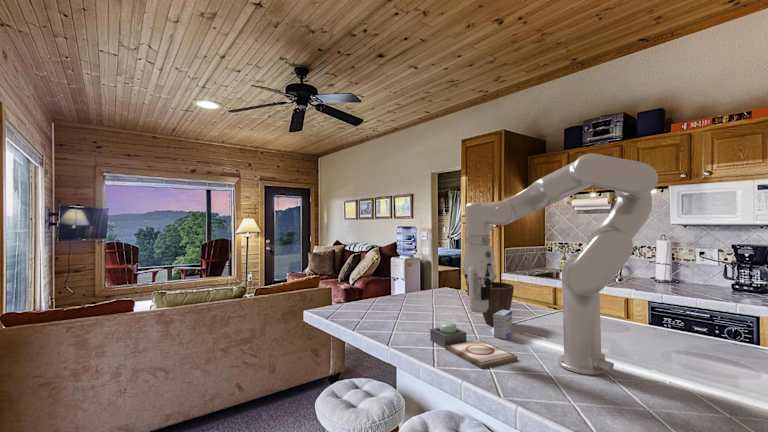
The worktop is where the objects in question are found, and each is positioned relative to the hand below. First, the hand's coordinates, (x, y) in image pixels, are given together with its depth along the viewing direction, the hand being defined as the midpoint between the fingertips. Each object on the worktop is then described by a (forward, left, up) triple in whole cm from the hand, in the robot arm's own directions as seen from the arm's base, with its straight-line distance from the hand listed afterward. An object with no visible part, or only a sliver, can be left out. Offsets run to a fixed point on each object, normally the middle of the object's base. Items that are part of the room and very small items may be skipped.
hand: (478, 296), depth 117 cm
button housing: (+14, +2, -18) cm, 23 cm away
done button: (+15, +2, -15) cm, 21 cm away
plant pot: (+24, -28, -19) cm, 41 cm away
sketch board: (0, 0, -18) cm, 18 cm away
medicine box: (+11, -20, -19) cm, 29 cm away
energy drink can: (0, 0, -5) cm, 5 cm away
